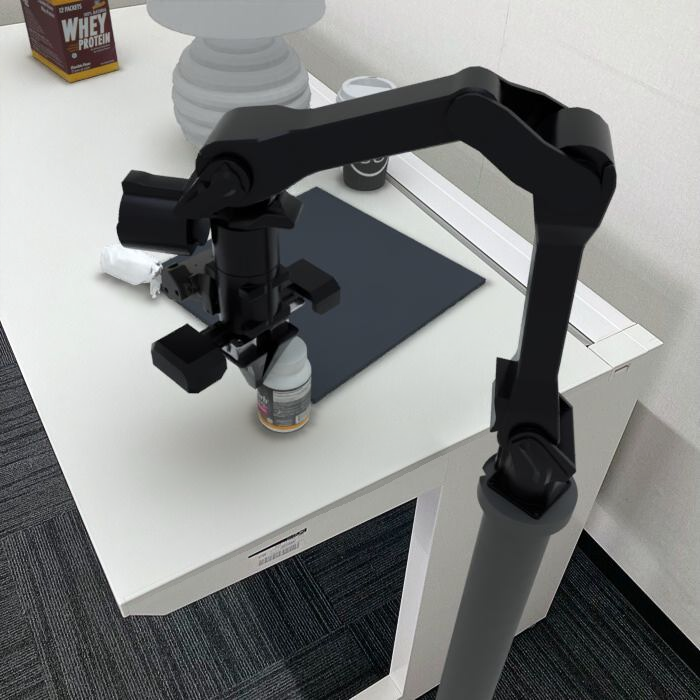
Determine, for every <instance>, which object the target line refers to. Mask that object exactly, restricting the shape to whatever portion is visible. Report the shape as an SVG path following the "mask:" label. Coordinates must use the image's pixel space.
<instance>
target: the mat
mask: <svg viewBox="0 0 700 700" xmlns="http://www.w3.org/2000/svg"><path fill="white" fill-rule="evenodd" d="M295 197H296V198H298V199H299V200H300V201H301V202H302V203H303V208H302V210H301V213H300V215H299V218H298V220H297V222H296V225H295V227H294V229H292V230H289V229H281V228H279V245H280V264H281V265H283V266H284V267H288V266H289V265H291V264H293V263H295V262H297V261H298V260H300V259H302V258H303V259H305V260H307V261H308V262H310V263H312V264H313V265H315V266H317V267H318V268H320V269H322V270H323V271H325V272H327V273H328V274H330V275H331V276H333V277H335V278H336V279H337V281H338V282H339V284H340V287H341V292H340V304H339V305H337V306H336V307H334V308H332V309H331V310H329V311H328V312H326V313H325V314H323V315H320V314H318V313H316V312H314V311H313V310H312V302H311V301H309V300H307V299H306V298H304V300H305V304H304V305H303V306H301V307H299V308H298V309H296V310H294V311H293V312H291V315H290V316H288V317H289V322H290V323H291V324H293V325H294V326H296V327H297V328H298V329H299V333H298V335H297V337H299V338H301V339H302V340H303V341H304V343H305V344H306V347H307V359H308V360H309V362H310V365H311V403H313V404H316V403H317V402H319V401H321V400H322V399H323V398H325V397H326V396H327V395H329V394H330V393H332V392H333V391H334V390H335V389H337V388H339V387H340V386H341V385H342V384H344V383H346V382H347V381H348V380H349V379H352V378H353V377H354V376H355V375H357V374H358V373H359V372H361V371H362V370H364V369H366V368H367V367H368V366H370V365H371V364H373V363H374V362H375V361H376V360H378V359H379V358H380V357H382V356H384V355H385V354H386V353H388V352H389V351H391V350H392V349H393V348H395V347H397V345H399V344H401V343H402V342H404V341H405V340H406V339H408V338H409V337H410V336H412V335H413V334H415V333H416V332H417V331H419V330H420V329H422V328H423V327H424V326H426V325H428V324H430V322H431V321H433V320H434V319H436V318H437V317H439V316H440V315H441V314H443V313H445V312H446V311H447V310H448V309H450V308H452V307H453V306H454V305H456V304H457V303H459V302H460V301H461V300H462V299H464V298H465V297H467V296H468V295H470V294H471V293H473V292H474V291H475V290H477V289H478V288H479V287H481V286H482V285H484V284H485V283H487V282H486V281H487V278H485V277H483V276H482V275H480V274H478V273H477V272H474V271H473V270H471V269H469V268H467V267H465V266H464V265H462V264H460V263H458V262H457V261H454V260H452V259H450V258H449V257H447V256H445V255H443V254H441V253H439V252H437V251H436V250H434V249H432V248H430V247H428V246H427V245H425V244H424V243H422V242H419V241H418V240H416V239H414V238H412V237H411V236H409V235H407V234H405V233H403V232H401V231H399V230H398V229H396V228H394V227H392V226H390V225H388V224H386V223H384V222H383V221H381V220H379V219H377V218H376V217H373V216H372V215H370V214H368V213H366V212H365V211H362V210H361V209H359V208H357V207H355V206H353V204H352V205H351V204H350V203H348V202H347V201H344V200H342V199H341V198H339V197H337V196H335V195H333V194H332V193H330V192H328V191H326V190H324V189H322V188H320V187H319V186H317V185H316V186H314V187H312V188H310V189H309V190H307V191H304V192H302V193H300V194H297V195H296V196H295ZM209 249H213V248H212V238H210V239H208V240H207V242H206V244H205V245H204V246H197V248H196V250H195V252H194V253H193V254H192V256H181V255H175V256H174V257H171V258H169V259H167V260H165V261H164V262H161V265H162V266H163V268H165V267H167V266H169V265H170V264H172V263H174V262H176V263H178V264H179V263H181V262H183V261H185V260H187V259H189V258H191V257H193V256H195V255H197V254H199V253H201V252H203V251H206V250H209ZM160 275H161V273H160ZM159 291H160V292H162V293H164V294H165V291H164V289H163V286H162V284H161V283H160V289H159ZM175 302H176V303H177V304H178V305H180V306H182V307H183V309H185V310H187V311H188V312H189V313H191V314H192V315H193V316H195V317H196V318H197V319H199V320H200V321H202V322H203V323H205V324H206V326H207V327H209V326H210V325H212V324H214V323H216V322H217V321H219V320H220V318H219V316H218V315H217V314H215V315H213V316H211V315H210V314H208V313H207V312H205V311H204V308H203V302H202V301H198V300H195V299H191V298H190V299H187V300H185V301H183V302H178V301H175Z"/></svg>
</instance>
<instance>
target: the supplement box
mask: <svg viewBox="0 0 700 700" xmlns="http://www.w3.org/2000/svg"><path fill="white" fill-rule="evenodd" d="M19 1H20V5H21V10H22V15H23V19H24V24H25V28H26V32H27V37H28V41H29V44H30V45H29V46H30V50H31V54H32V57H33V58H35V59H36V60H38V61H39V62H41V63H42V64H43V65H45V66H46V67H47V68H49V69H50V70H51V71H52V72H54V73H55V74H57V75H58V76H59V77H61V78H63V80H65V81H66V82H68V83H74V82H77V81H82V80H85V79H89V78H93V77H96V76H100V75H103V74H107V73H110V72H114V71H118V70H120V67H119V60H118V59H119V58H118V53H117V47H116V41H115V35H114V30H113V22H112V16H111V9H110V4H109V0H19Z"/></svg>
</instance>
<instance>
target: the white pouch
mask: <svg viewBox="0 0 700 700" xmlns="http://www.w3.org/2000/svg"><path fill="white" fill-rule="evenodd" d="M161 263H162V262H161V260H160V259H159V258H158V257H156V256H153V255H152V254H150V253H148V252H147V251H144V250H136V249H129V248H124V247H123V246H122V245H121V243H120V242H119V243H115V244H110V245H106V246H105V247H103V248H101V251H100V256H99V264H100V266H101V269H102V270H100V272H99V273H100V274H108V275H109V276H112V277H114V278H116V279H118V280H120V281H123V282H126V283H128V284H131V285H132V286H138V285H140V284H150V285H149V287H150V288H149V289H150V291H149V292H150V296H151V298H152V299H156V298H157V295H156V293H158V294H159V295H160V294H161V291H160V283H161V284H162V282H161V275H160V273H161V269H163V266H162V265H161Z"/></svg>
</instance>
